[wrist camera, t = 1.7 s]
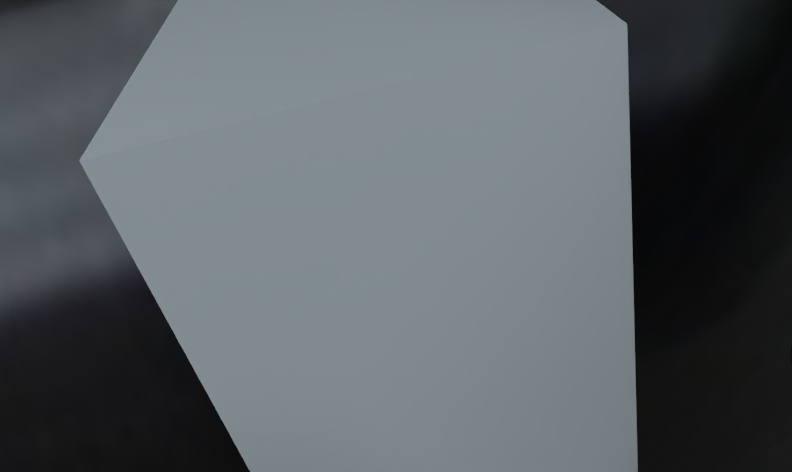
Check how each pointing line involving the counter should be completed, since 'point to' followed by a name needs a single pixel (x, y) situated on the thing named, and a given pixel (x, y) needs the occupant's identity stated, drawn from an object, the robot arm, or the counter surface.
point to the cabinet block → (389, 228)
